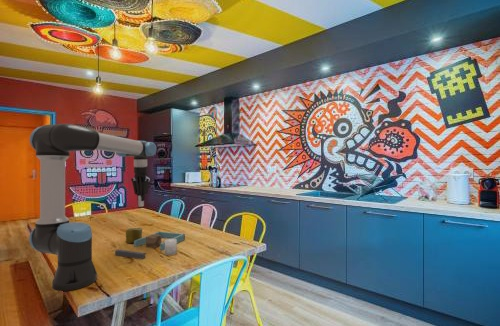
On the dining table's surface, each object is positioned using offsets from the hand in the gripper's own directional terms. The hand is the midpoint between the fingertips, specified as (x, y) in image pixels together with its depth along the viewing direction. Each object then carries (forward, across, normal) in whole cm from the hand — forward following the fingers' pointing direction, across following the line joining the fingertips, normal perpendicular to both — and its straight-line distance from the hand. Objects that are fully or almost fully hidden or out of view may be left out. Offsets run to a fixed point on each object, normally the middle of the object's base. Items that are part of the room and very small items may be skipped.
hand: (141, 206), depth 160 cm
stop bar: (+22, -10, +19) cm, 31 cm away
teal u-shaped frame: (+22, -10, -5) cm, 25 cm away
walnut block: (+23, -10, +1) cm, 25 cm away
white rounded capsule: (+22, -27, +8) cm, 36 cm away
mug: (+23, +8, -4) cm, 24 cm away
